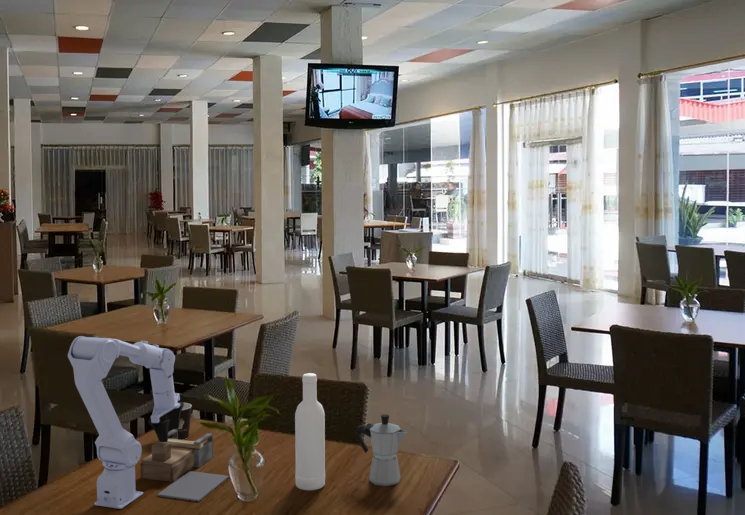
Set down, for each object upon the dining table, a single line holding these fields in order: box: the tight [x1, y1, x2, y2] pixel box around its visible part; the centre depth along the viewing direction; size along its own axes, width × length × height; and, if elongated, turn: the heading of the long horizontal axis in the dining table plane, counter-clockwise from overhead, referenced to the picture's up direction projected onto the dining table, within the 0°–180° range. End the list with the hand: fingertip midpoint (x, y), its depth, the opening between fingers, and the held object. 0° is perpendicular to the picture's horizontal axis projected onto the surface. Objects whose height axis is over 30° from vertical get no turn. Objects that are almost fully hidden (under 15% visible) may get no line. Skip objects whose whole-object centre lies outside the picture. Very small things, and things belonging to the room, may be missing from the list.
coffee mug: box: [163, 402, 193, 440], centre depth 230 cm, size 12×9×10 cm
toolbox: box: [140, 429, 214, 483], centre depth 206 cm, size 19×13×7 cm
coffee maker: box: [354, 413, 409, 487], centre depth 197 cm, size 15×9×18 cm, turn 74°
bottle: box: [294, 372, 326, 491], centre depth 192 cm, size 8×8×30 cm
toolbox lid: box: [141, 441, 196, 467], centre depth 203 cm, size 14×9×5 cm
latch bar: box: [158, 438, 204, 449], centre depth 208 cm, size 2×13×1 cm, turn 73°
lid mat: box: [157, 470, 230, 503], centre depth 192 cm, size 16×12×1 cm
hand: (169, 434), depth 202 cm, fingers open, 7 cm apart
